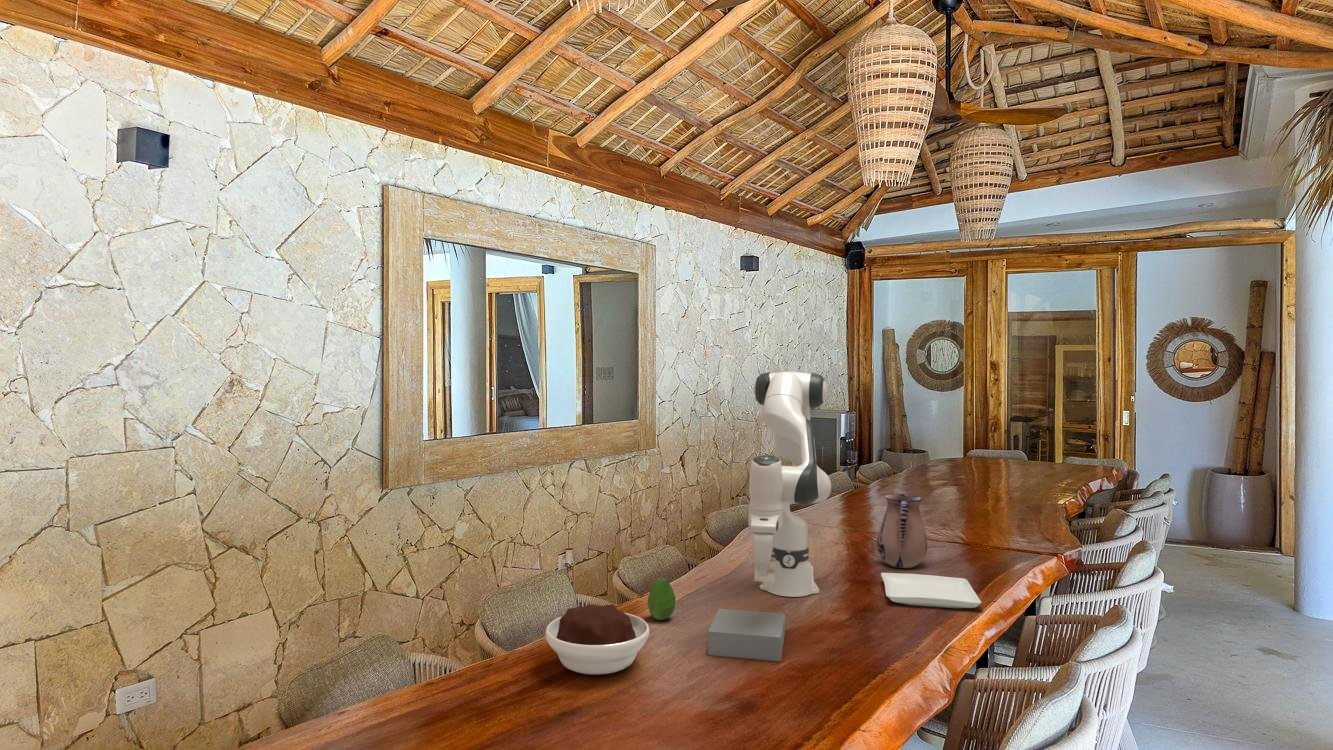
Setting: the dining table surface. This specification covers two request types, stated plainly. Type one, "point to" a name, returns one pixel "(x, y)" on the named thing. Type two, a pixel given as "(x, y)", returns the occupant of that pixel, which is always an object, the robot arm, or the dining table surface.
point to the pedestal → (747, 635)
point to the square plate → (930, 590)
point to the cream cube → (771, 572)
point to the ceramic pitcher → (902, 532)
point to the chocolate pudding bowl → (597, 638)
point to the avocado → (661, 599)
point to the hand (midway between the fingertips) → (764, 572)
